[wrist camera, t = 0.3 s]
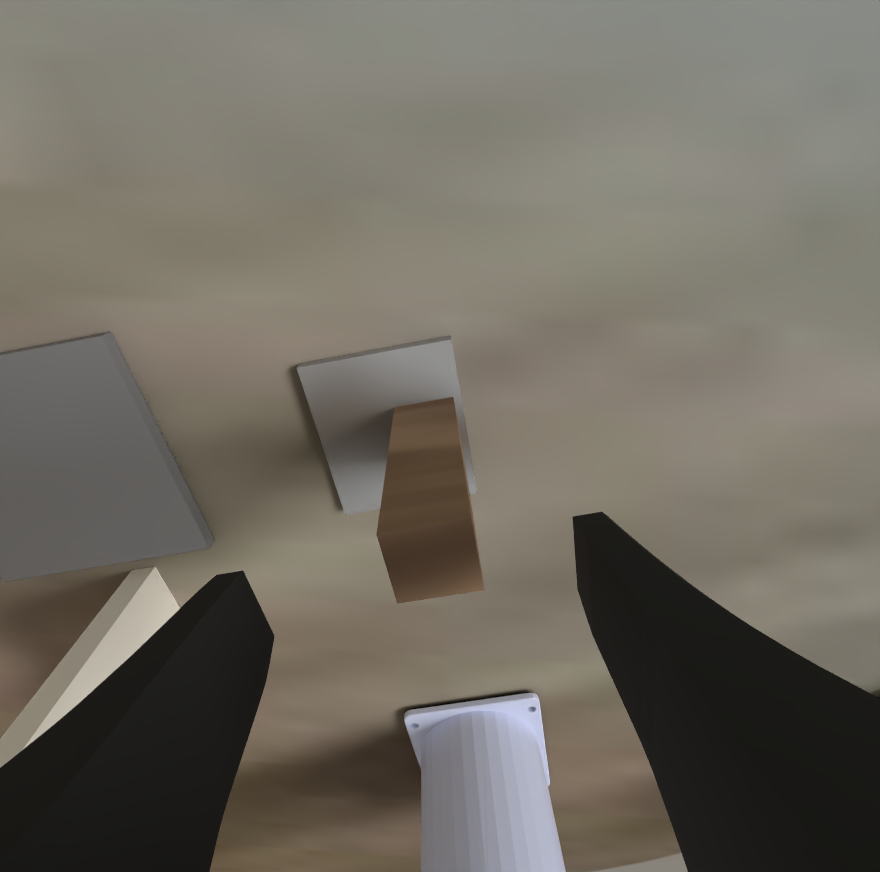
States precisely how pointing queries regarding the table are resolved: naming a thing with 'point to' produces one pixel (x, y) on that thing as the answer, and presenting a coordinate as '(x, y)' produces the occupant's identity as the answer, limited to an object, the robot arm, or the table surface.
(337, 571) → the table surface
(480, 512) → the table surface
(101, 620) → the tile
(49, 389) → the mat
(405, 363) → the turner
